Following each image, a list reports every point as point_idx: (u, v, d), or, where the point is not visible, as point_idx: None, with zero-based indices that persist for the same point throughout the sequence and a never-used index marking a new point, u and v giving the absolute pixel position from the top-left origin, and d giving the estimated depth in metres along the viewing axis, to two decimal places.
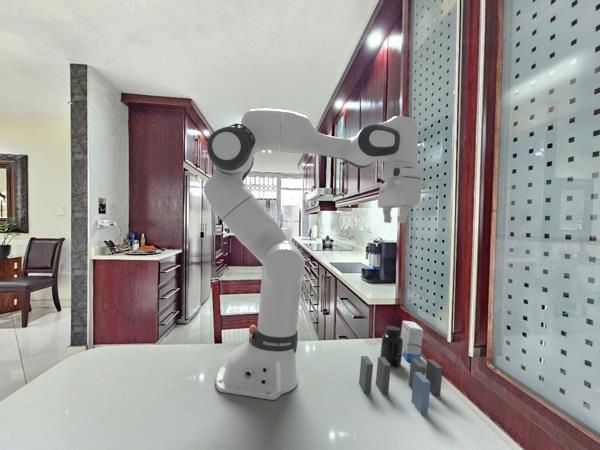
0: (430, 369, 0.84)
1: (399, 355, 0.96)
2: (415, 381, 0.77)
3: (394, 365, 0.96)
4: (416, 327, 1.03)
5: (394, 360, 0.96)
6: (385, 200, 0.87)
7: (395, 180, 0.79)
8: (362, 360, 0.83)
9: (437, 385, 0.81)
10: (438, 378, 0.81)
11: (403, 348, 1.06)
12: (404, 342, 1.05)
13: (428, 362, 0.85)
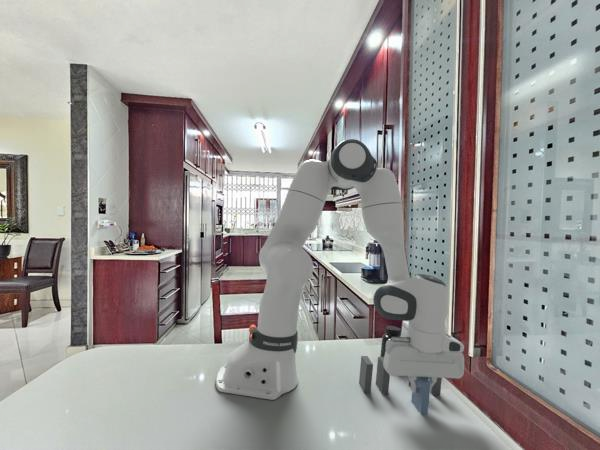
0: None
1: None
2: (415, 381, 0.77)
3: None
4: None
5: None
6: (413, 370, 0.73)
7: (448, 354, 0.73)
8: (362, 360, 0.83)
9: (437, 385, 0.81)
10: (438, 378, 0.81)
11: None
12: None
13: None
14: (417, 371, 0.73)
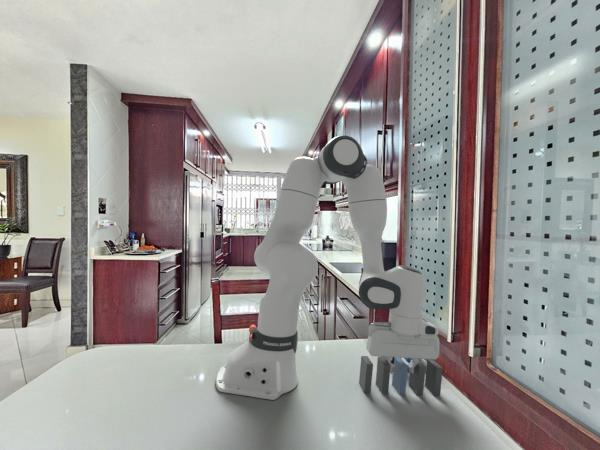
0: (430, 369, 0.84)
1: None
2: (395, 365, 0.84)
3: None
4: None
5: None
6: (393, 351, 0.81)
7: (424, 336, 0.81)
8: (362, 360, 0.83)
9: (437, 385, 0.81)
10: (438, 378, 0.81)
11: None
12: None
13: (428, 362, 0.85)
14: (396, 352, 0.81)
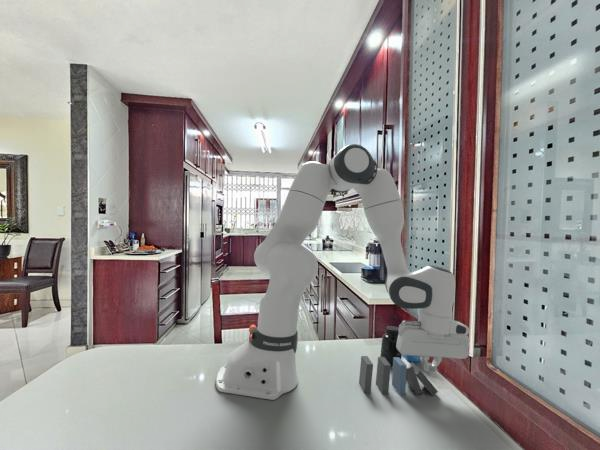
0: None
1: (399, 355, 0.96)
2: (394, 365, 0.84)
3: None
4: None
5: None
6: (423, 350, 0.81)
7: (455, 336, 0.81)
8: (362, 360, 0.83)
9: (428, 386, 0.81)
10: (424, 380, 0.81)
11: None
12: None
13: None
14: (427, 351, 0.82)
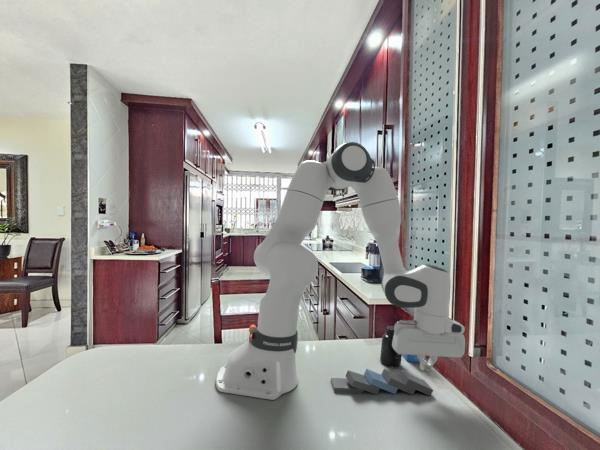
0: None
1: (399, 355, 0.96)
2: None
3: (394, 365, 0.96)
4: None
5: (394, 360, 0.96)
6: (419, 349, 0.81)
7: (450, 335, 0.81)
8: None
9: (422, 389, 0.81)
10: (416, 386, 0.81)
11: None
12: None
13: None
14: (423, 350, 0.82)
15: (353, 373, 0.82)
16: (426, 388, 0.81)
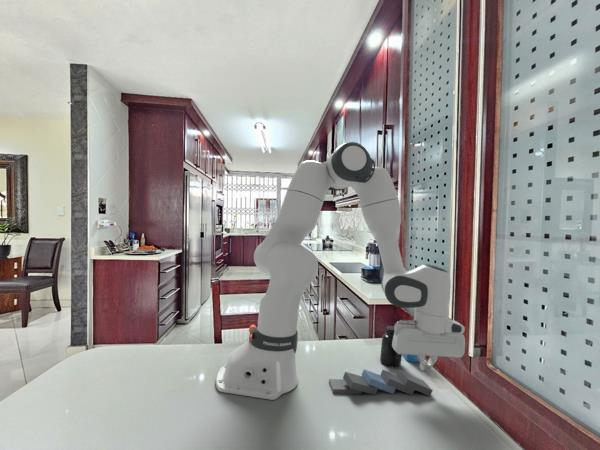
0: None
1: (399, 355, 0.96)
2: None
3: (394, 365, 0.96)
4: None
5: (394, 360, 0.96)
6: (419, 349, 0.81)
7: (450, 335, 0.81)
8: None
9: (421, 389, 0.81)
10: (415, 386, 0.81)
11: None
12: None
13: None
14: (423, 350, 0.82)
15: (351, 374, 0.81)
16: (425, 388, 0.81)
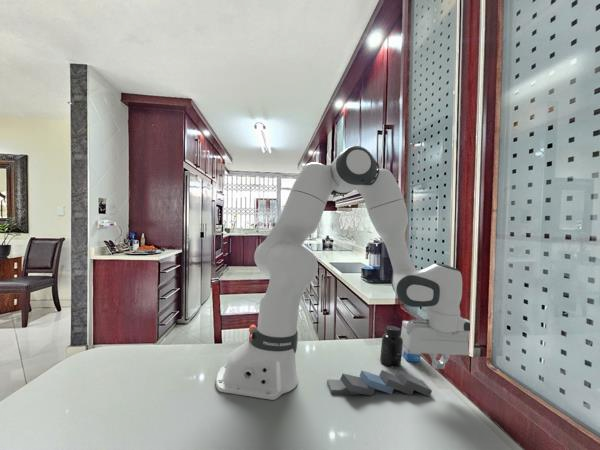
0: None
1: (399, 355, 0.96)
2: None
3: (394, 365, 0.96)
4: None
5: (394, 360, 0.96)
6: (431, 348, 0.82)
7: (462, 333, 0.82)
8: None
9: (421, 389, 0.81)
10: (415, 386, 0.80)
11: (403, 348, 1.06)
12: None
13: None
14: (435, 349, 0.82)
15: (348, 376, 0.80)
16: (425, 389, 0.81)
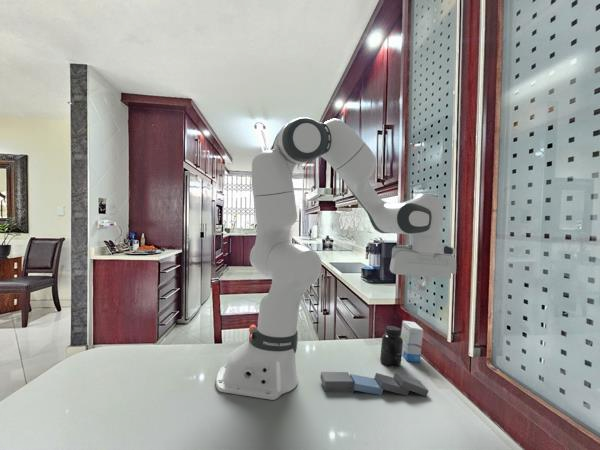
0: None
1: (399, 355, 0.96)
2: None
3: (394, 365, 0.96)
4: (416, 327, 1.03)
5: (394, 360, 0.96)
6: (414, 270, 0.89)
7: (442, 256, 0.89)
8: None
9: (417, 390, 0.80)
10: (411, 387, 0.80)
11: (403, 348, 1.06)
12: (404, 342, 1.05)
13: None
14: (417, 271, 0.89)
15: (326, 373, 0.82)
16: (421, 389, 0.80)
